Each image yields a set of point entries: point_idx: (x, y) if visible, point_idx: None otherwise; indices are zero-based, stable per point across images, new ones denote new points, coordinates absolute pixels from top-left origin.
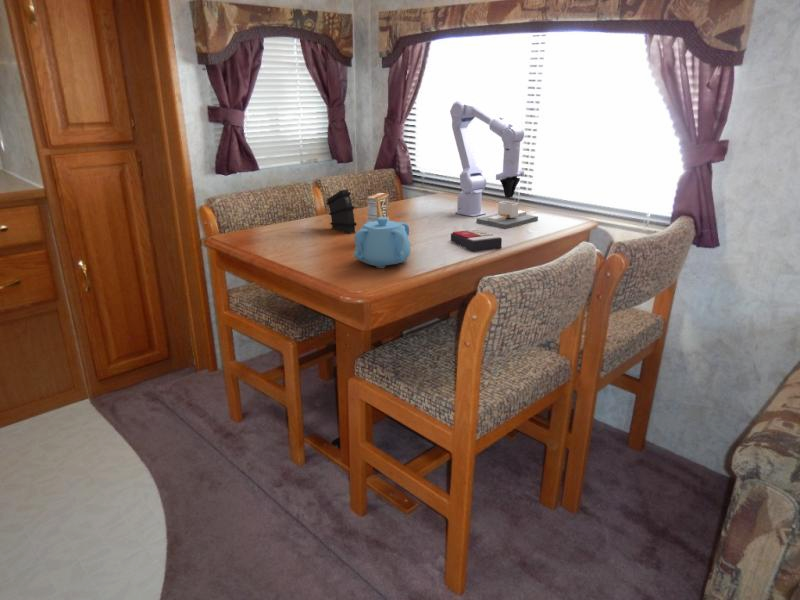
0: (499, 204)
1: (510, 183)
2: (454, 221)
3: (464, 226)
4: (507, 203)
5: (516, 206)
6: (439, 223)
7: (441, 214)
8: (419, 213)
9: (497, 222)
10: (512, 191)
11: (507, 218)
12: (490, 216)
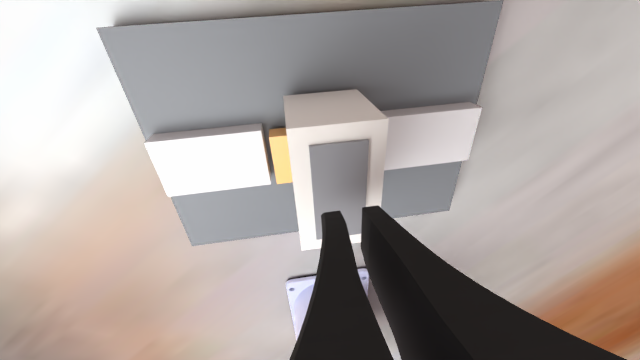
0: None
1: (588, 343)
2: (471, 249)
3: (531, 176)
4: (365, 184)
5: (317, 117)
6: (526, 251)
7: None
8: None
9: (470, 88)
10: (352, 254)
11: None
12: None
